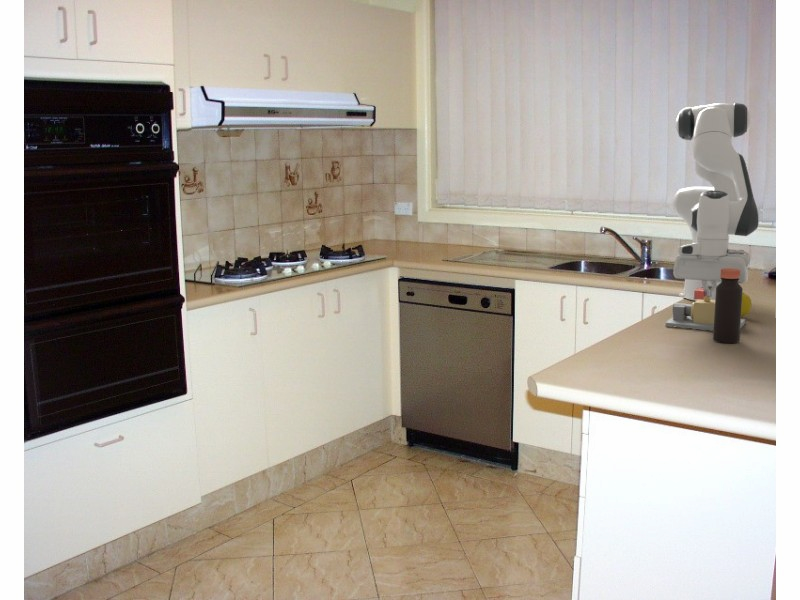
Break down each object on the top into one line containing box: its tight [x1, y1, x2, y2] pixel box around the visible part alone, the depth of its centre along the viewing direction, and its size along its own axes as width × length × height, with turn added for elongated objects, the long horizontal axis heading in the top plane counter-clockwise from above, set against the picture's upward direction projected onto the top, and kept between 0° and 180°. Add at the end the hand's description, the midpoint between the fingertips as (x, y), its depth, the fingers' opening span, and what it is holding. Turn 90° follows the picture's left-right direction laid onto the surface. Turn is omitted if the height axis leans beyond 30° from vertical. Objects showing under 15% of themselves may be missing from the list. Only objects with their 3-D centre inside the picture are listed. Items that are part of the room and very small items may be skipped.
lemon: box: [741, 292, 753, 319], centre depth 261 cm, size 6×6×8 cm
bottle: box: [712, 268, 743, 344], centre depth 230 cm, size 7×7×20 cm
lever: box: [694, 285, 713, 300], centre depth 246 cm, size 4×14×2 cm, turn 149°
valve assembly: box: [665, 296, 746, 332], centre depth 251 cm, size 20×16×10 cm
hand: (709, 296), depth 241 cm, fingers closed
